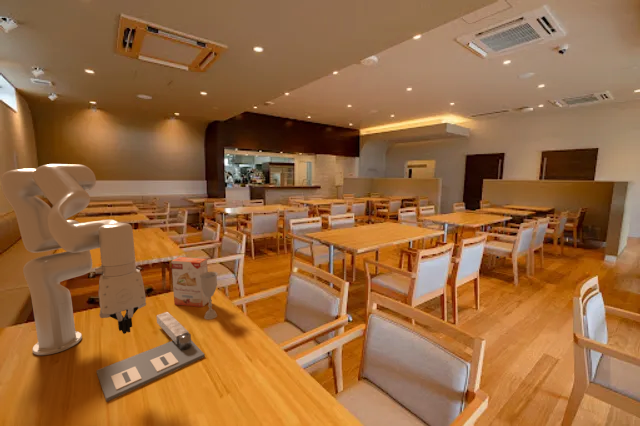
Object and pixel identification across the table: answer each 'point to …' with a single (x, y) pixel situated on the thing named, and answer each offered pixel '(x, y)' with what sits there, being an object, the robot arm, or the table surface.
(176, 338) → the swing bar
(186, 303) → the cracker box
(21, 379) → the table surface
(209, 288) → the chalice
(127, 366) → the label board
